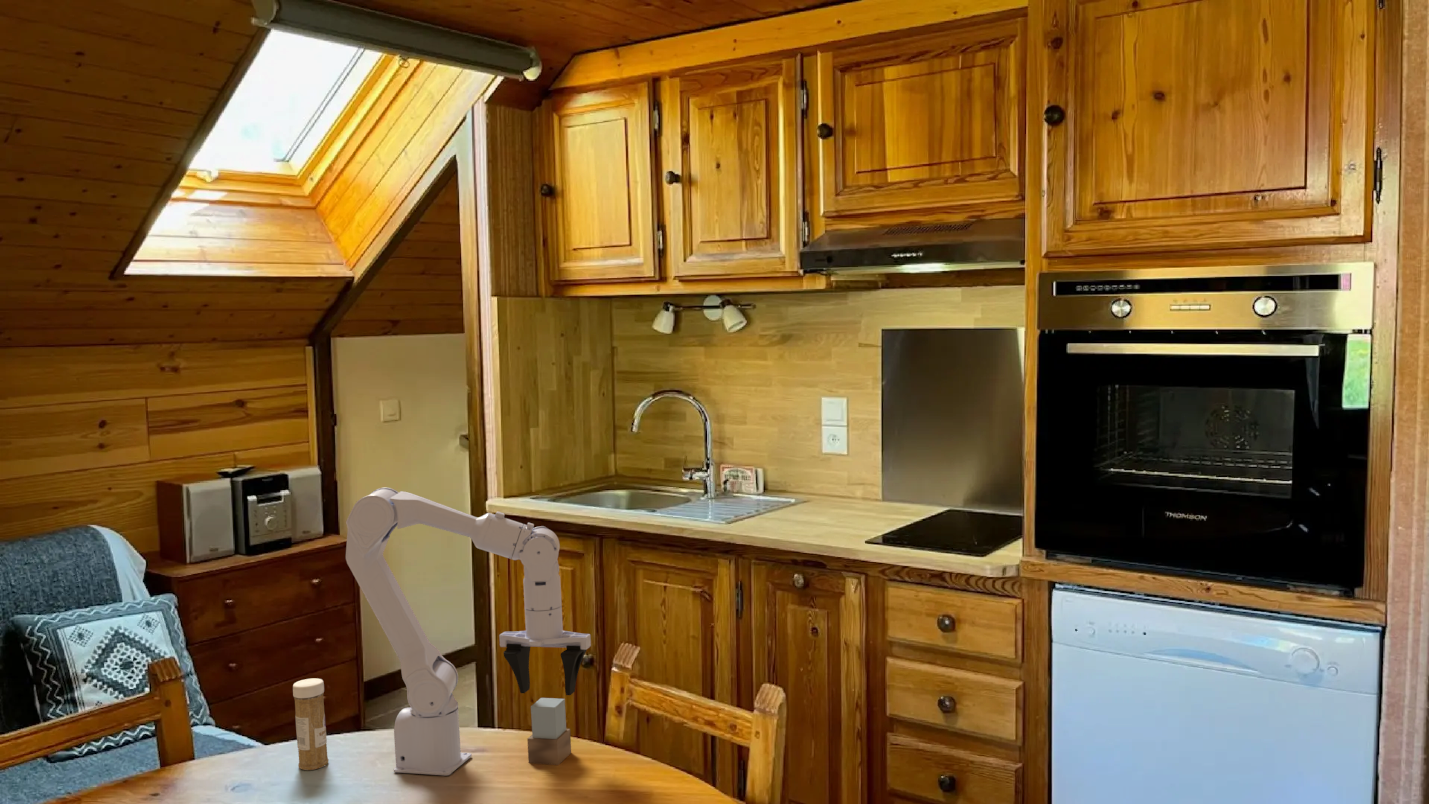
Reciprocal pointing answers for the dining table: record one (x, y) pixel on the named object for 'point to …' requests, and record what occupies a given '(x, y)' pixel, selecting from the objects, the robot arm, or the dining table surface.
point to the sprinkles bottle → (310, 723)
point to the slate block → (548, 718)
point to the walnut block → (549, 749)
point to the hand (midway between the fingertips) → (547, 692)
